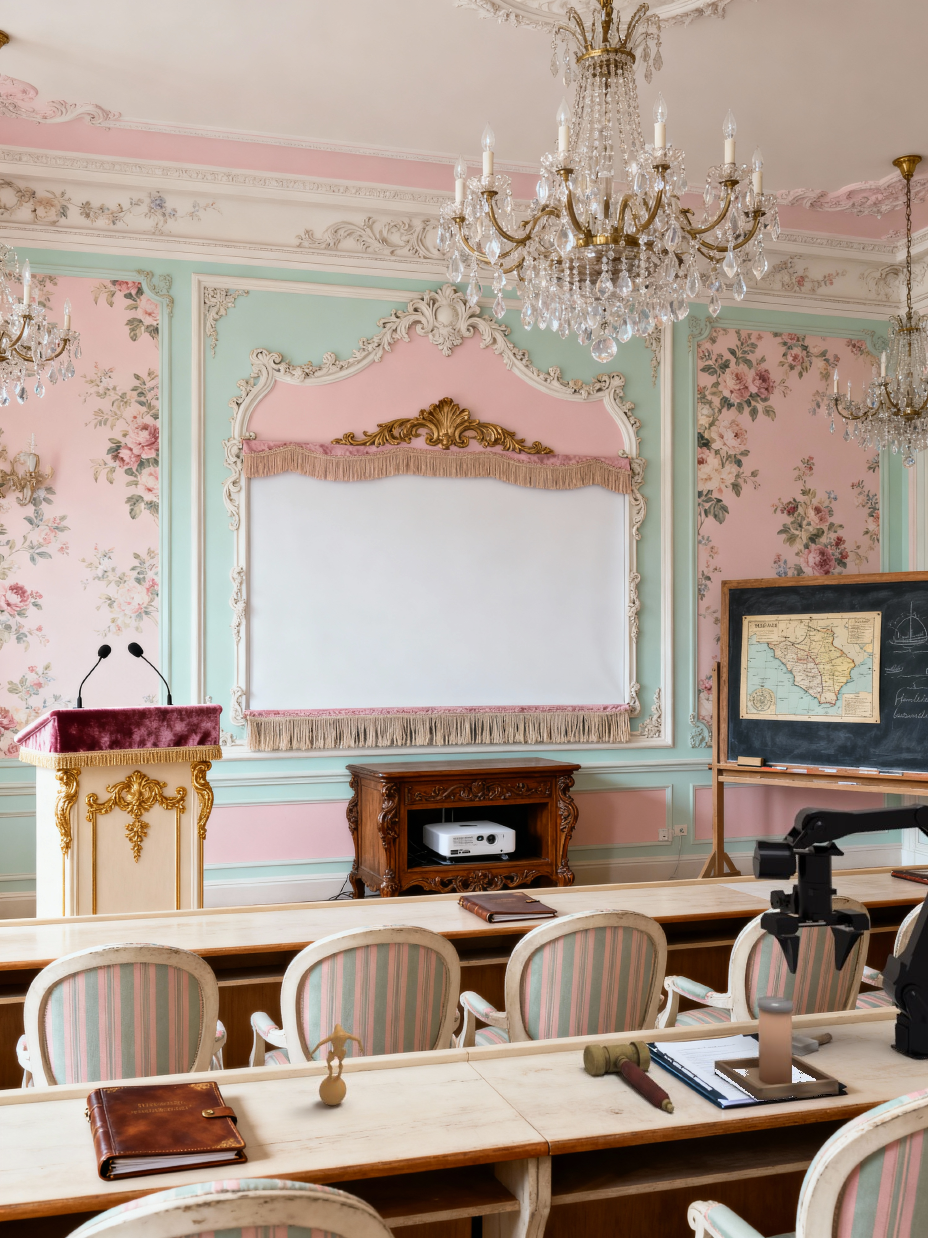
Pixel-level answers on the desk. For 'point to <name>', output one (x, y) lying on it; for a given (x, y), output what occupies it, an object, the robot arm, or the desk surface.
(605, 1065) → the gavel
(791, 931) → the robot arm
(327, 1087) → the figurine
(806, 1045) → the mallet
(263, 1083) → the desk surface
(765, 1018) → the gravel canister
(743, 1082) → the walnut tray
